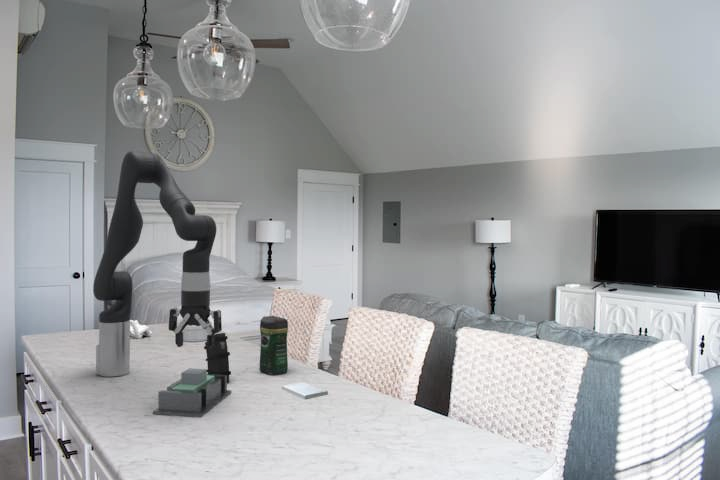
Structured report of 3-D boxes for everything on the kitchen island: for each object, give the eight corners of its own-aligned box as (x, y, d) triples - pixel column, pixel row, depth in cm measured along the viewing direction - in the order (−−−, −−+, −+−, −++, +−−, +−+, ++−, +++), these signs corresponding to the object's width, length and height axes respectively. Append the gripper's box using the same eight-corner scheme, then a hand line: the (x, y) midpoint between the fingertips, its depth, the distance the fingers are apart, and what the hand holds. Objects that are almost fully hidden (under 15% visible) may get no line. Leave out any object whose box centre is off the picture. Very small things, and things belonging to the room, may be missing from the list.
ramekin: (187, 336, 245) (188, 320, 245) (216, 337, 243) (216, 321, 243) (173, 342, 232) (173, 325, 232) (203, 343, 230) (204, 326, 230)
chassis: (200, 417, 141) (201, 395, 141) (152, 414, 143) (152, 392, 143) (231, 393, 162) (231, 374, 162) (189, 390, 163) (189, 372, 163)
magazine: (223, 381, 167) (215, 333, 172) (208, 390, 177) (201, 345, 182) (234, 379, 170) (226, 332, 175) (219, 388, 179) (212, 343, 184)
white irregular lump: (129, 339, 245) (119, 318, 242) (142, 331, 250) (132, 311, 246) (142, 343, 237) (132, 321, 234) (155, 335, 241) (145, 314, 238)
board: (193, 397, 145) (193, 378, 145) (171, 396, 146) (171, 377, 145) (214, 382, 159) (214, 365, 158) (194, 381, 159) (194, 364, 159)
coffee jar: (291, 372, 185) (292, 317, 185) (271, 376, 180) (272, 319, 180) (275, 367, 192) (275, 313, 192) (255, 370, 187) (256, 315, 187)
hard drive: (328, 390, 162) (304, 381, 171) (304, 395, 157) (281, 385, 166) (328, 396, 162) (304, 386, 171) (304, 401, 157) (281, 390, 166)
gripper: (164, 288, 149) (163, 349, 149) (215, 290, 147) (214, 351, 147) (177, 285, 156) (176, 343, 157) (225, 287, 154) (225, 345, 155)
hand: (194, 347), depth 152 cm, fingers open, 8 cm apart
